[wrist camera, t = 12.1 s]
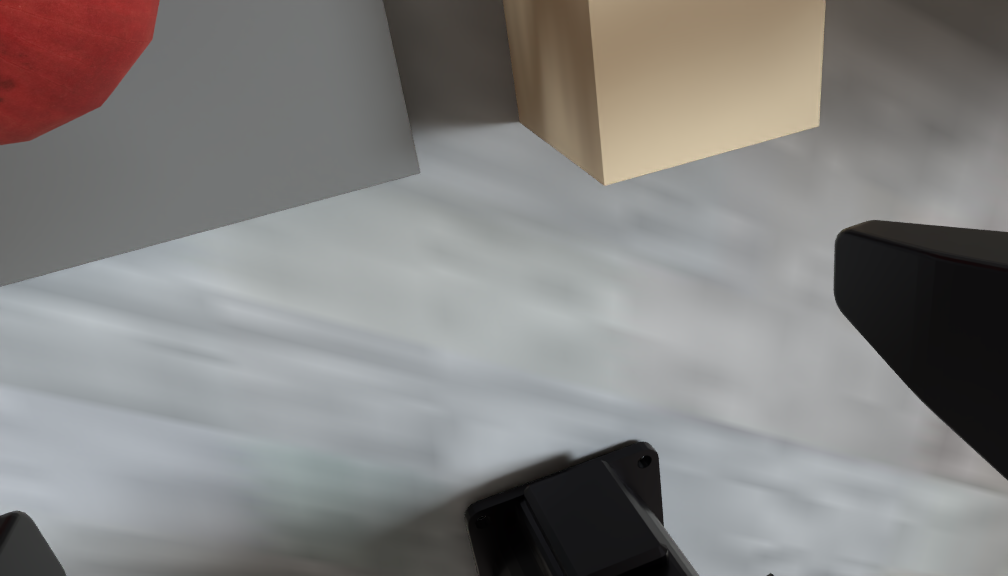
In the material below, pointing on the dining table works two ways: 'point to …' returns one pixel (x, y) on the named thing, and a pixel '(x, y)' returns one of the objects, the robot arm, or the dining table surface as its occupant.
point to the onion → (65, 59)
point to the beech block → (663, 77)
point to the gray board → (212, 132)
